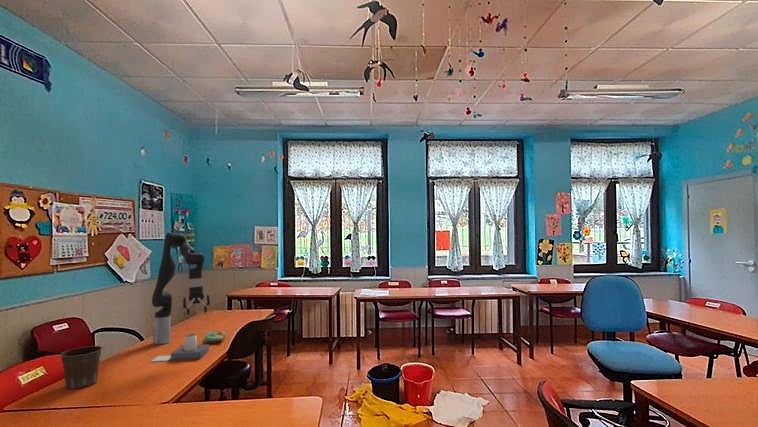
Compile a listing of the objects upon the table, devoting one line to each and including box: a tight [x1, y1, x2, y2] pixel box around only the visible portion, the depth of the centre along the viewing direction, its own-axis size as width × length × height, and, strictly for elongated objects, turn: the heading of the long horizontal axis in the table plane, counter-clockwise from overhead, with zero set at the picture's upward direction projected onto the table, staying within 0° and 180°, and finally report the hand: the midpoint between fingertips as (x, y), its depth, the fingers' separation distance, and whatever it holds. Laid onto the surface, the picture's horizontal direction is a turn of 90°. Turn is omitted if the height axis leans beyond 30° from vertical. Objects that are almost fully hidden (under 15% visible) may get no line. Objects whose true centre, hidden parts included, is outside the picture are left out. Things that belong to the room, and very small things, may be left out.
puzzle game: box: [202, 330, 227, 344], centre depth 266 cm, size 12×5×20 cm
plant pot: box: [59, 345, 103, 390], centre depth 191 cm, size 16×16×16 cm
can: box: [184, 333, 198, 351], centre depth 234 cm, size 6×6×12 cm
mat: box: [150, 355, 171, 363], centre depth 228 cm, size 9×9×1 cm
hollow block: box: [170, 343, 210, 362], centre depth 234 cm, size 16×16×4 cm
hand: (197, 314), depth 234 cm, fingers open, 8 cm apart
